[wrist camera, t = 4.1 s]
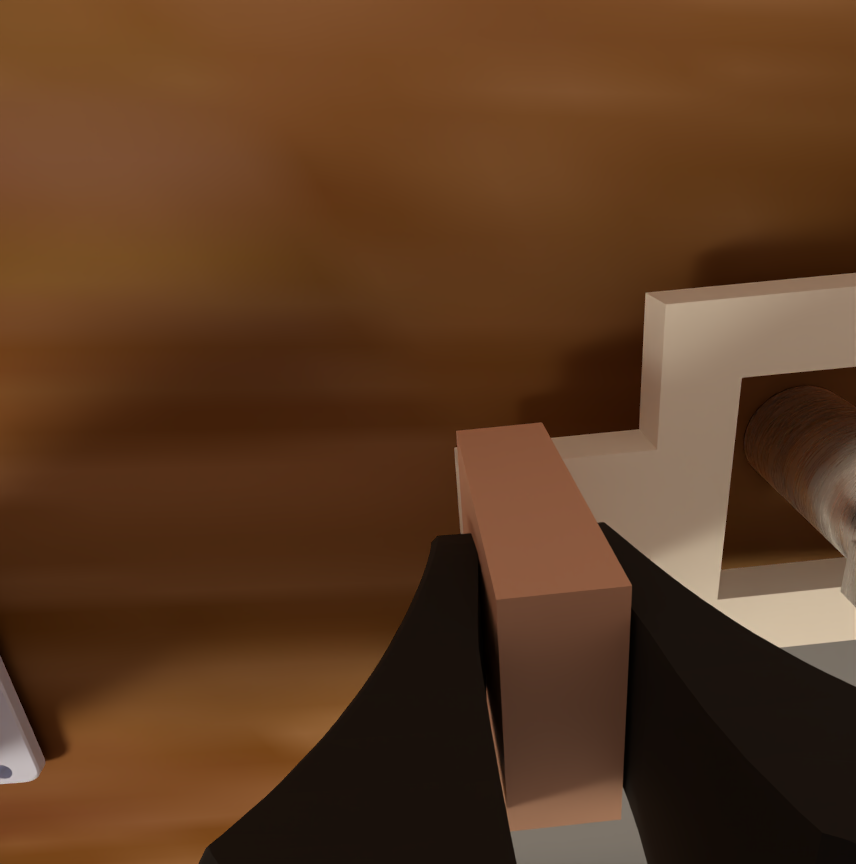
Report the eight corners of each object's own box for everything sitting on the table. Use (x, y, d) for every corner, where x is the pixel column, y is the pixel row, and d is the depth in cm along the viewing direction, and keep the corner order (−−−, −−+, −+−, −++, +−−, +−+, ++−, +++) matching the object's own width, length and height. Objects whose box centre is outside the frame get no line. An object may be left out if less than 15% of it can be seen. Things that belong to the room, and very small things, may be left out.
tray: (432, 899, 22) (434, 950, 21) (399, 632, 18) (398, 673, 16) (912, 863, 22) (945, 912, 20) (999, 584, 17) (1050, 622, 16)
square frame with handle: (468, 648, 16) (512, 920, 10) (444, 311, 13) (488, 444, 7) (963, 597, 16) (1266, 837, 10) (1062, 253, 13) (1575, 337, 7)
